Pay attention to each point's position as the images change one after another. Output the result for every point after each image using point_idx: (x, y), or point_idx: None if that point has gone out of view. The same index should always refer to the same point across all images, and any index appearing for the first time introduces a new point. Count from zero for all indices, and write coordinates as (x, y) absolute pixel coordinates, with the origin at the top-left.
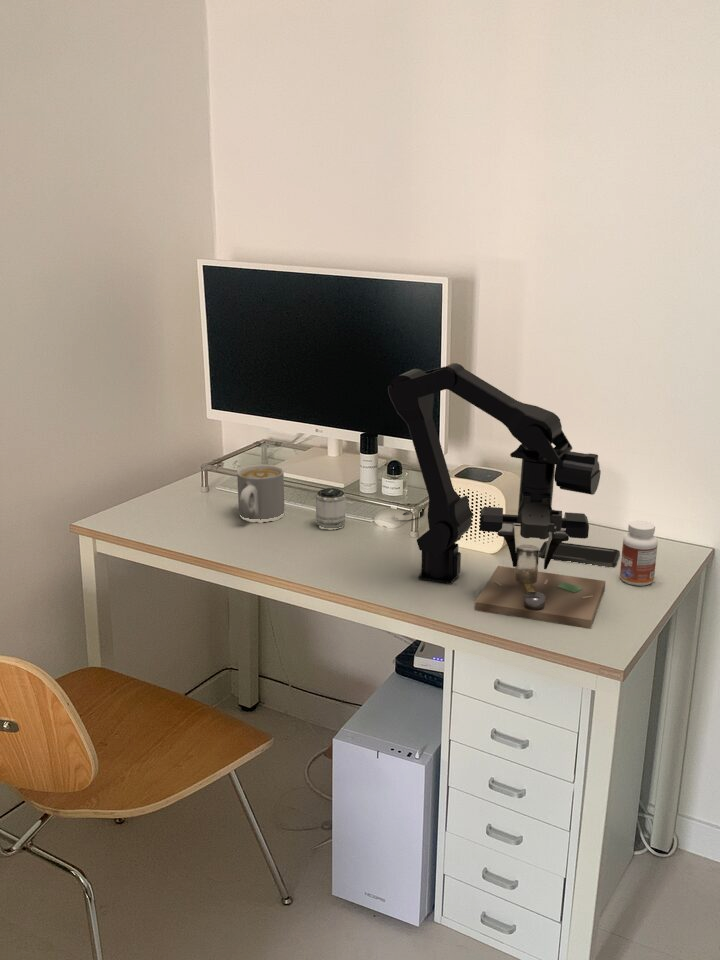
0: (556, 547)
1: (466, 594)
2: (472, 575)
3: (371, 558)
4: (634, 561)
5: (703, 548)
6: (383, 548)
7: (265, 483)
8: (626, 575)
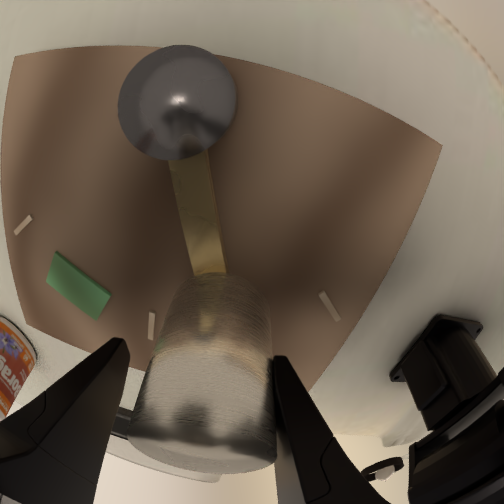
0: (11, 416)
1: (421, 260)
2: (366, 366)
3: None
4: None
5: None
6: None
7: None
8: (9, 340)
